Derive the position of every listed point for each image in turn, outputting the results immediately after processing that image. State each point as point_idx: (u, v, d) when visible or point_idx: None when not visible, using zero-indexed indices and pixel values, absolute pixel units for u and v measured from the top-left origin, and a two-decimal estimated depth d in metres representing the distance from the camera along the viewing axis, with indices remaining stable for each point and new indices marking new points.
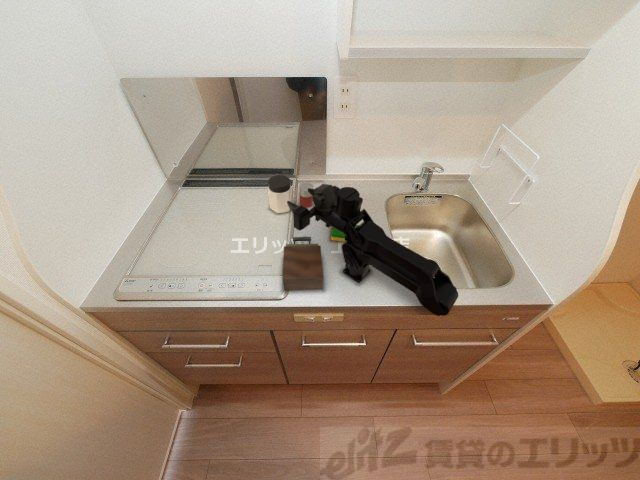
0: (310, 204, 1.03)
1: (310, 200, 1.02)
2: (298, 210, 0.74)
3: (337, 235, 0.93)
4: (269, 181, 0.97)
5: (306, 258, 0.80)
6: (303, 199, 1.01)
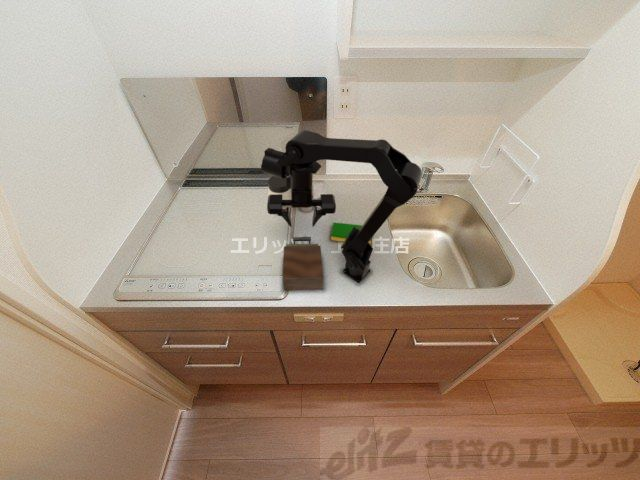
0: None
1: None
2: None
3: (337, 235, 0.93)
4: (269, 181, 0.97)
5: (306, 258, 0.80)
6: None
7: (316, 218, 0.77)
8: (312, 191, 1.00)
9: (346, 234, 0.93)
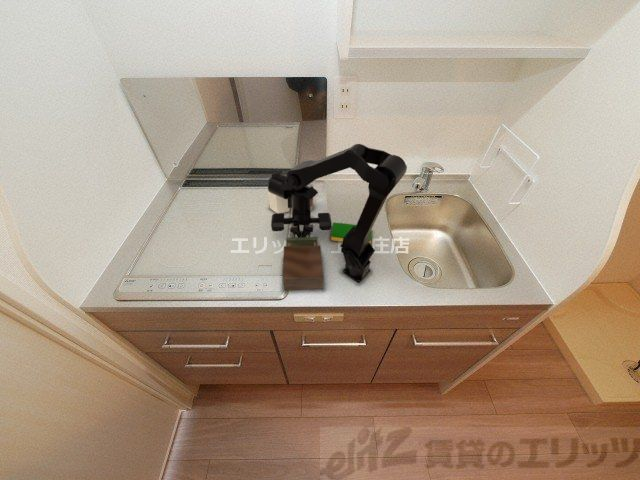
0: None
1: None
2: None
3: (337, 235, 0.93)
4: (269, 181, 0.97)
5: (306, 258, 0.80)
6: None
7: (304, 234, 0.86)
8: None
9: None
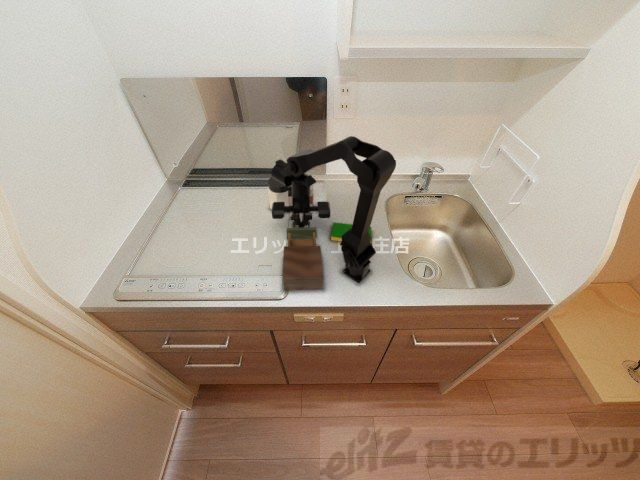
0: None
1: (310, 200, 1.02)
2: None
3: (337, 235, 0.93)
4: (269, 181, 0.97)
5: (306, 258, 0.80)
6: None
7: (304, 222, 0.89)
8: (312, 191, 1.00)
9: None
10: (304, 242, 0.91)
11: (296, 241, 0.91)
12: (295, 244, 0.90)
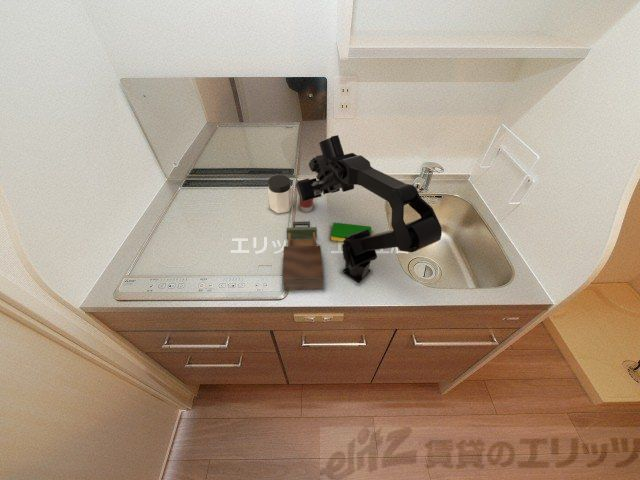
0: (310, 204, 1.03)
1: (310, 200, 1.02)
2: None
3: (337, 235, 0.93)
4: (269, 181, 0.97)
5: (306, 258, 0.80)
6: None
7: None
8: None
9: (346, 234, 0.93)
10: (304, 242, 0.91)
11: (296, 241, 0.91)
12: (295, 244, 0.90)
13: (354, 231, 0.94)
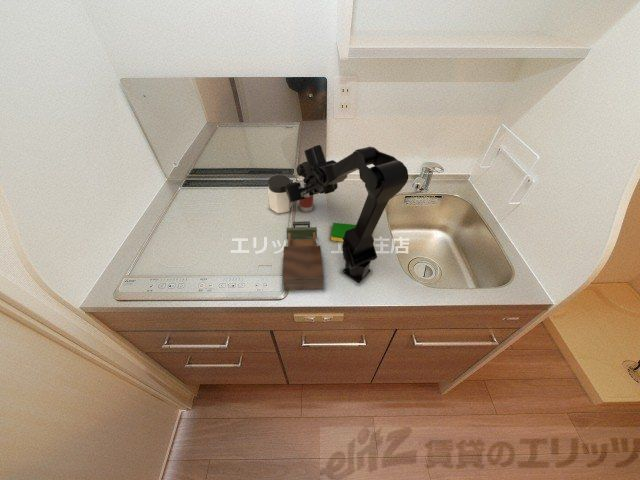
0: (310, 204, 1.03)
1: (310, 200, 1.02)
2: None
3: (337, 235, 0.93)
4: (269, 181, 0.97)
5: (306, 258, 0.80)
6: (303, 199, 1.01)
7: None
8: None
9: None
10: (304, 242, 0.91)
11: (296, 241, 0.91)
12: (295, 244, 0.90)
13: None
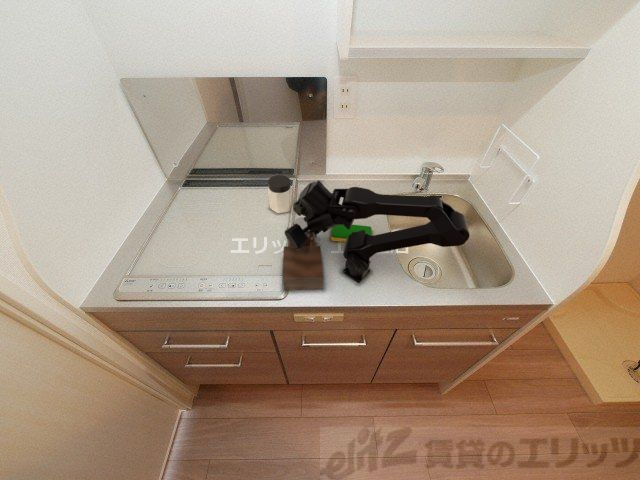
0: (309, 241, 0.87)
1: (309, 237, 0.85)
2: (288, 228, 0.74)
3: (337, 235, 0.93)
4: (269, 181, 0.97)
5: (306, 258, 0.80)
6: None
7: None
8: None
9: (346, 234, 0.93)
10: None
11: None
12: None
13: (354, 231, 0.94)
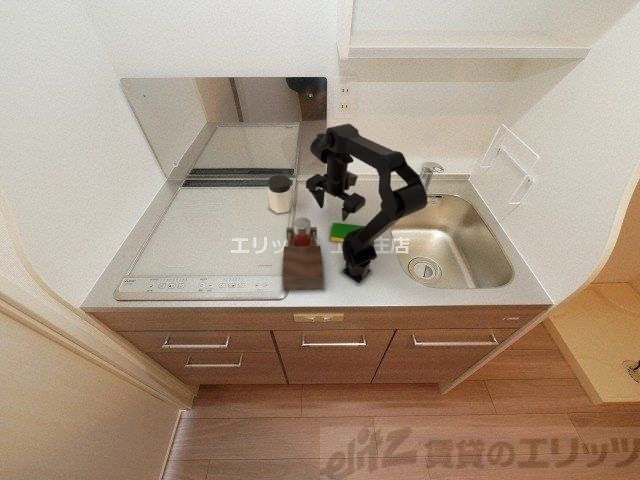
0: (309, 241, 0.87)
1: (309, 237, 0.85)
2: None
3: (337, 235, 0.93)
4: (269, 181, 0.97)
5: (306, 258, 0.80)
6: (301, 237, 0.84)
7: (343, 213, 0.79)
8: None
9: (346, 234, 0.93)
10: None
11: None
12: None
13: None
